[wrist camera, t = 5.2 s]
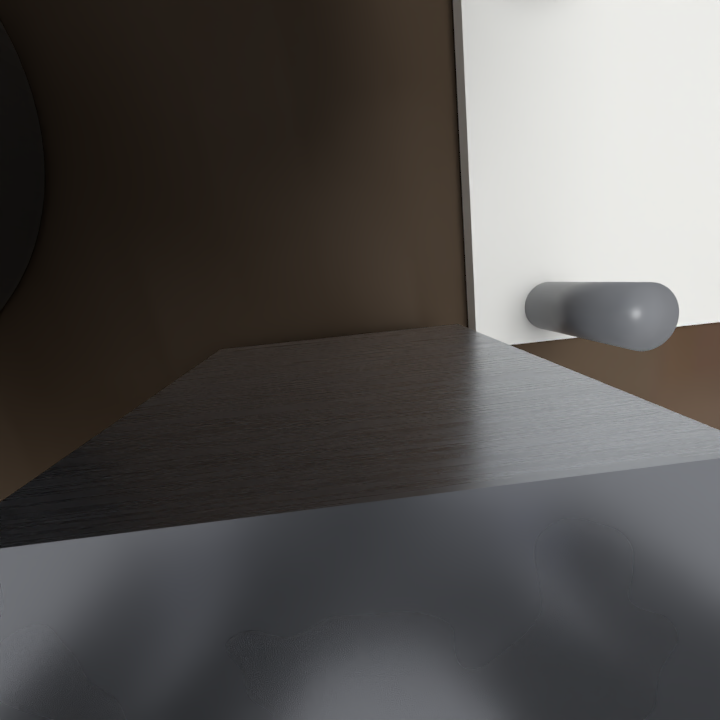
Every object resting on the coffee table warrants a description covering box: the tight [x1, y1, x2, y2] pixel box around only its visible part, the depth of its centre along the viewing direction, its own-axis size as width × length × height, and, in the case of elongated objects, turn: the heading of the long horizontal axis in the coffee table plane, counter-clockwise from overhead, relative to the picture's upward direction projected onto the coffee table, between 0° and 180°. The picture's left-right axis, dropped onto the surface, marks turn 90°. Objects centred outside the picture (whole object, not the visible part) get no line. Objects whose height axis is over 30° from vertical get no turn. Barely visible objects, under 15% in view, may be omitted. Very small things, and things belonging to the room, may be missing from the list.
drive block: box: [0, 324, 720, 720], centre depth 9 cm, size 12×7×9 cm, turn 6°
